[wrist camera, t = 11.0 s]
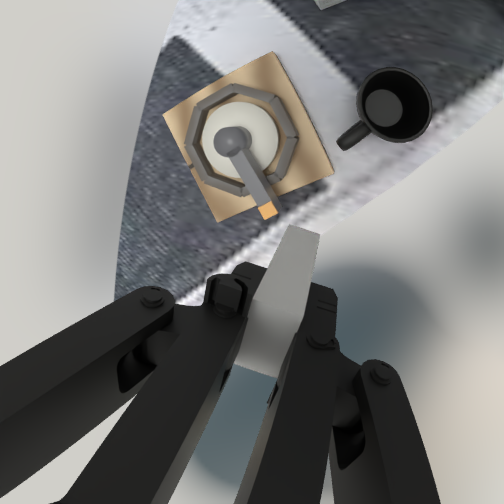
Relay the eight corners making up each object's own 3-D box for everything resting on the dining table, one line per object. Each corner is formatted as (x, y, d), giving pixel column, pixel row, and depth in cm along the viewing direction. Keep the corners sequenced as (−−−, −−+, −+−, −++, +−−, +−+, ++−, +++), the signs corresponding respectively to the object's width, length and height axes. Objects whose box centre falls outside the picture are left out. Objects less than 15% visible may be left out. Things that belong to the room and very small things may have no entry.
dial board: (275, 54, 36) (268, 47, 32) (334, 171, 41) (333, 176, 37) (169, 114, 43) (153, 115, 39) (222, 218, 48) (211, 228, 44)
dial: (194, 128, 41) (173, 130, 36) (254, 88, 37) (240, 83, 31) (249, 219, 44) (236, 234, 39) (313, 186, 40) (308, 197, 35)
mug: (318, 116, 38) (313, 114, 30) (387, 67, 33) (400, 53, 25) (356, 165, 40) (361, 177, 31) (424, 117, 34) (447, 117, 26)
